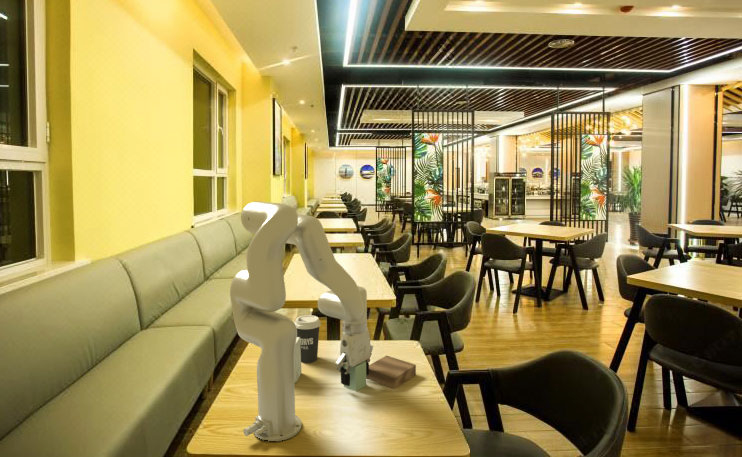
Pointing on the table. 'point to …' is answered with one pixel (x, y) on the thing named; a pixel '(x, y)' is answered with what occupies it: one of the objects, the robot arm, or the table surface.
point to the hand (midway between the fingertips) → (355, 378)
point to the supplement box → (297, 360)
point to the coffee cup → (308, 337)
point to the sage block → (357, 376)
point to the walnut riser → (391, 371)
